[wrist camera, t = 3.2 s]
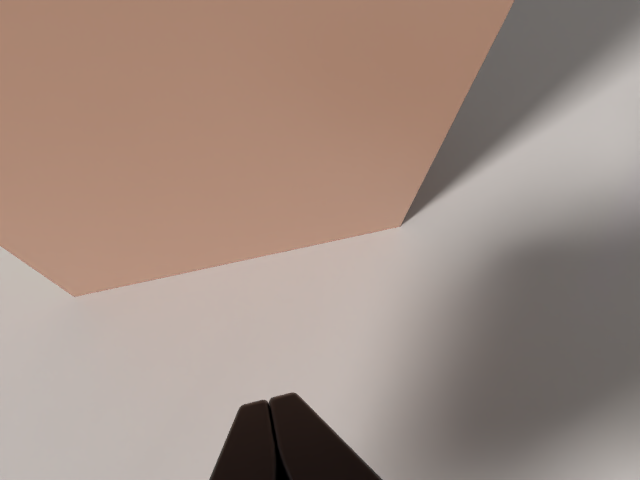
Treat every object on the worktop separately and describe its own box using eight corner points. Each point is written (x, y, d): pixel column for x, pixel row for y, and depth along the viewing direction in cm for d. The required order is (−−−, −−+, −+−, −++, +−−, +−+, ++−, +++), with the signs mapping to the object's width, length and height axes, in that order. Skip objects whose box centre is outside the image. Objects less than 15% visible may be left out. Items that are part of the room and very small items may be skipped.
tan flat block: (400, 226, 18) (592, -152, 7) (74, 296, 16) (-390, -23, 5) (366, 118, 19) (477, -354, 8) (61, 176, 18) (-335, -290, 6)
